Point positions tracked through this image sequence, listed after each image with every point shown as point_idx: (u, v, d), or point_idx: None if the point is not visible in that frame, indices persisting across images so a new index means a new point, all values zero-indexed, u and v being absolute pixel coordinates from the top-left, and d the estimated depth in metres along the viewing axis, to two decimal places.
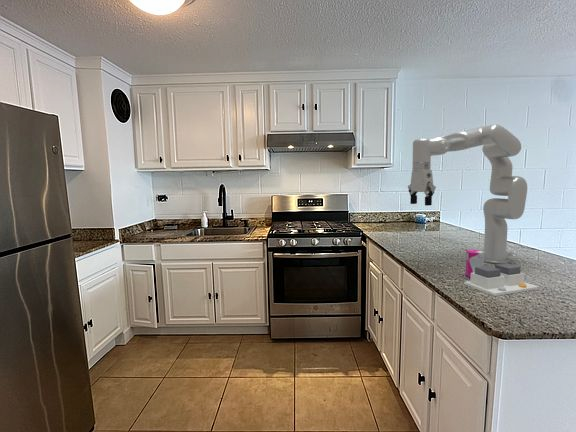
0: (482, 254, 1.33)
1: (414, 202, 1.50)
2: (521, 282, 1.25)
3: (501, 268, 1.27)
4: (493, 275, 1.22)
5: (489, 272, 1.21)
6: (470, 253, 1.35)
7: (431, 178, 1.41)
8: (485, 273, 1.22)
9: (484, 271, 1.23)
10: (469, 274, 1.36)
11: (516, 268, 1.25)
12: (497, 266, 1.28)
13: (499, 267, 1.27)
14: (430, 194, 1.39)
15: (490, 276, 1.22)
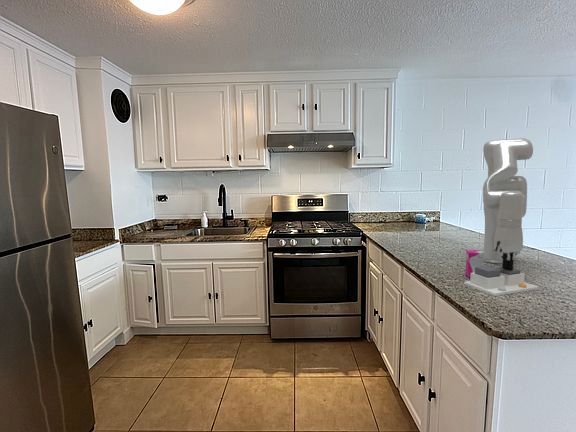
0: (482, 254, 1.33)
1: None
2: (521, 282, 1.25)
3: (501, 271, 1.27)
4: (493, 275, 1.22)
5: (489, 272, 1.21)
6: (470, 253, 1.35)
7: None
8: (485, 273, 1.22)
9: (484, 271, 1.23)
10: (469, 274, 1.36)
11: (516, 271, 1.25)
12: None
13: None
14: None
15: (490, 276, 1.22)
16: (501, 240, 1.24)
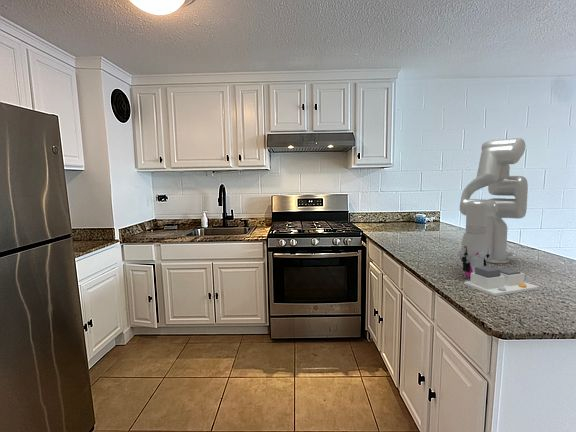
0: (482, 254, 1.33)
1: None
2: (521, 282, 1.25)
3: None
4: (493, 275, 1.22)
5: (489, 272, 1.21)
6: None
7: None
8: (485, 273, 1.22)
9: (484, 271, 1.23)
10: (469, 274, 1.36)
11: (516, 273, 1.25)
12: None
13: None
14: None
15: (490, 276, 1.22)
16: (467, 245, 1.34)
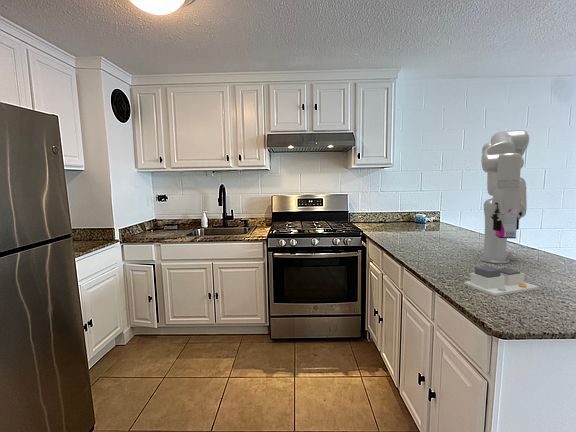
0: (515, 211, 1.22)
1: None
2: (521, 282, 1.25)
3: None
4: (493, 275, 1.22)
5: (489, 272, 1.21)
6: None
7: None
8: (485, 273, 1.22)
9: (484, 271, 1.23)
10: (500, 233, 1.25)
11: (516, 273, 1.25)
12: None
13: None
14: None
15: (490, 276, 1.22)
16: (499, 201, 1.23)
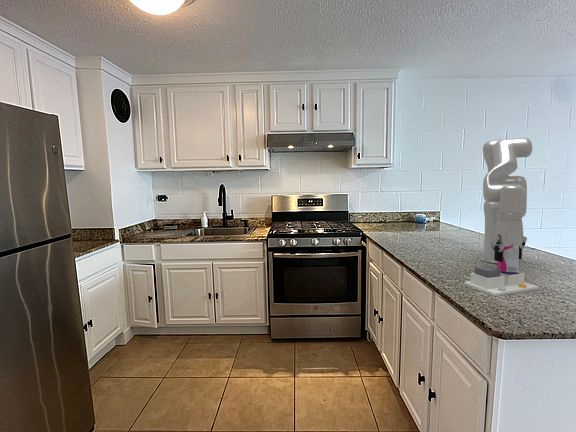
0: (517, 246, 1.23)
1: None
2: (521, 282, 1.25)
3: None
4: (493, 275, 1.22)
5: (489, 272, 1.21)
6: None
7: None
8: (485, 273, 1.22)
9: (484, 271, 1.23)
10: (502, 268, 1.26)
11: None
12: None
13: None
14: None
15: (490, 276, 1.22)
16: (501, 234, 1.23)
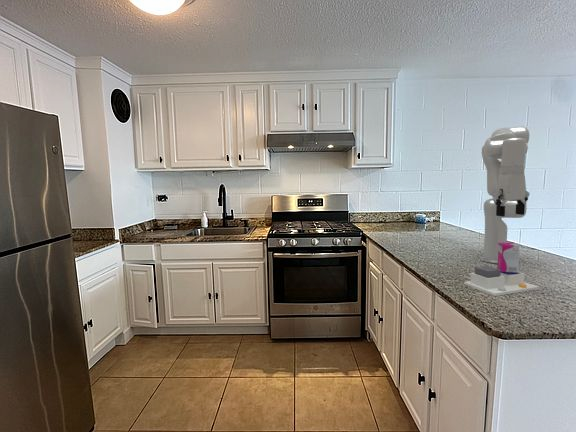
0: (517, 246, 1.23)
1: None
2: (521, 282, 1.25)
3: None
4: (493, 275, 1.22)
5: (489, 272, 1.21)
6: (504, 245, 1.25)
7: None
8: (485, 273, 1.22)
9: (484, 271, 1.23)
10: (502, 268, 1.26)
11: None
12: None
13: None
14: None
15: (490, 276, 1.22)
16: (503, 187, 1.21)
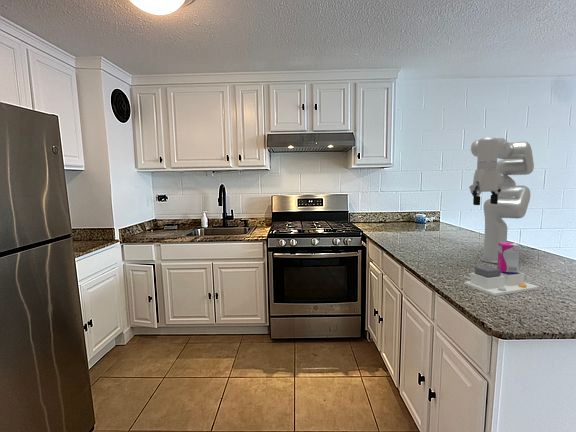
0: (517, 246, 1.23)
1: None
2: (521, 282, 1.25)
3: None
4: (493, 275, 1.22)
5: (489, 272, 1.21)
6: (504, 245, 1.25)
7: None
8: (485, 273, 1.22)
9: (484, 271, 1.23)
10: (502, 268, 1.26)
11: None
12: None
13: None
14: (498, 192, 1.45)
15: (490, 276, 1.22)
16: (479, 180, 1.41)
